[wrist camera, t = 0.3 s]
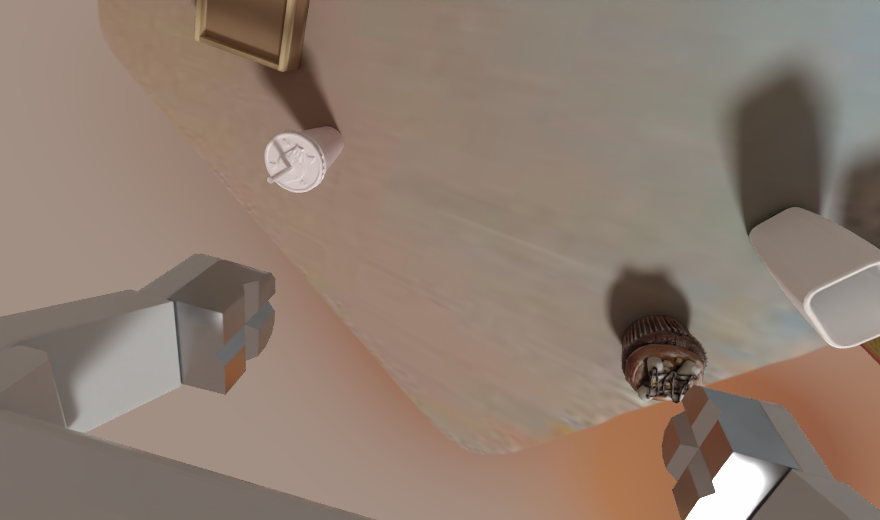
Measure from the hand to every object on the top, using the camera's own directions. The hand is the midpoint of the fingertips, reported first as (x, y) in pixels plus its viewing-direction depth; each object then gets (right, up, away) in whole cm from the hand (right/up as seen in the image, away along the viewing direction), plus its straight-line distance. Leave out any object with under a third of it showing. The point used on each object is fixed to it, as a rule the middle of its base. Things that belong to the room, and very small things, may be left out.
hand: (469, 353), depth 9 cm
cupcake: (+27, -8, +52) cm, 59 cm away
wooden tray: (-20, +29, +42) cm, 55 cm away
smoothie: (-14, +16, +48) cm, 52 cm away
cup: (+37, +5, +43) cm, 57 cm away
